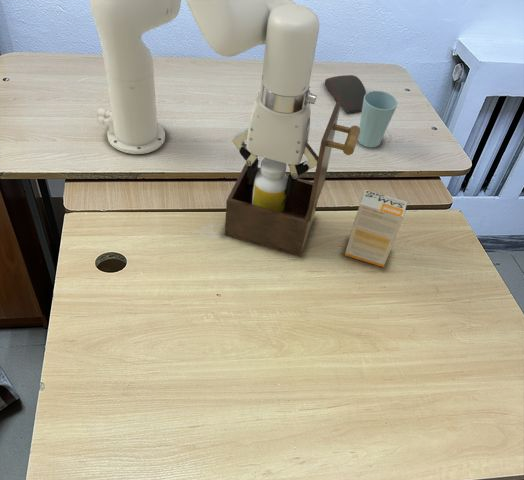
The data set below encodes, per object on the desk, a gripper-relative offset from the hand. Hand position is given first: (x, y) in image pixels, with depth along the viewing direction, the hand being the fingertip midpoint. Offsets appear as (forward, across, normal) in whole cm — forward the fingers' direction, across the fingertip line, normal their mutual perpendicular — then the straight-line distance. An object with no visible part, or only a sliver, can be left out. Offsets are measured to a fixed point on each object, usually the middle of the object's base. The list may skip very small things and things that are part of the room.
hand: (270, 184), depth 100 cm
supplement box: (+10, -21, 0) cm, 23 cm away
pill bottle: (+7, 0, 0) cm, 7 cm away
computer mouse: (+10, -6, -54) cm, 55 cm away
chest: (+10, -1, 0) cm, 10 cm away
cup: (+10, -15, -38) cm, 42 cm away
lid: (-7, -8, 0) cm, 11 cm away
